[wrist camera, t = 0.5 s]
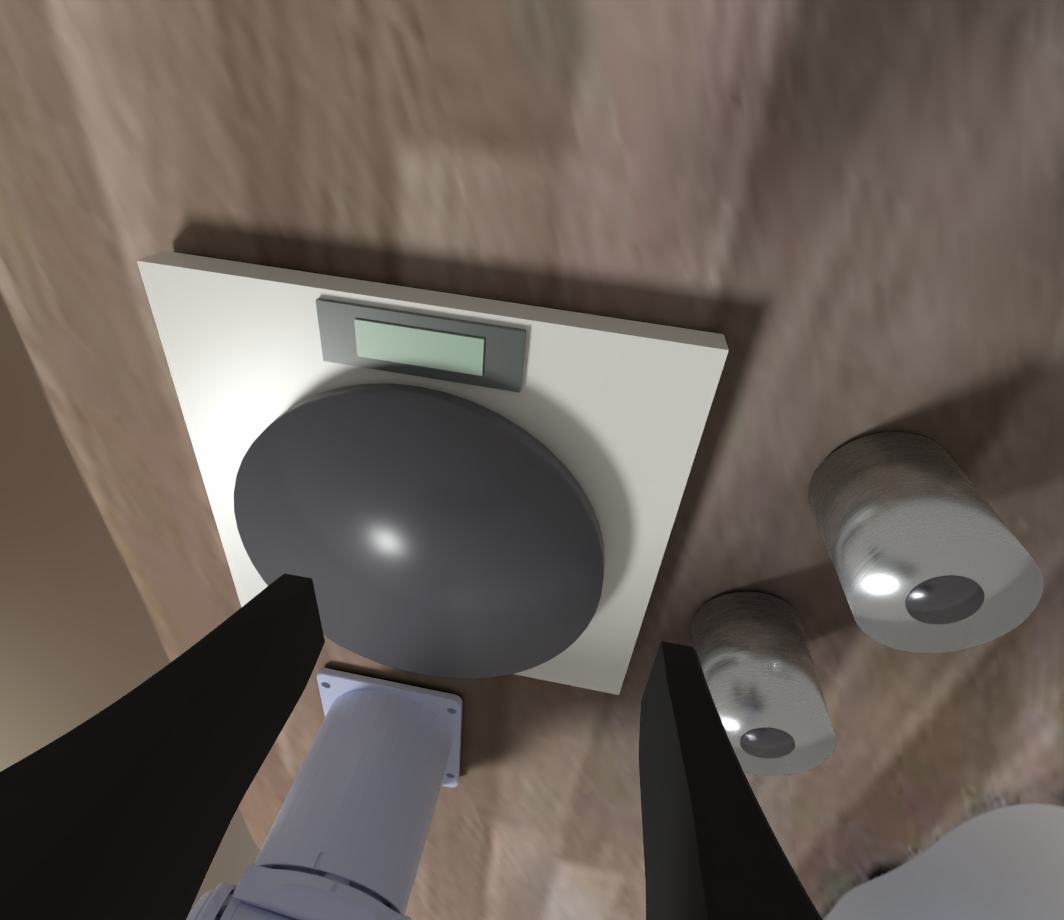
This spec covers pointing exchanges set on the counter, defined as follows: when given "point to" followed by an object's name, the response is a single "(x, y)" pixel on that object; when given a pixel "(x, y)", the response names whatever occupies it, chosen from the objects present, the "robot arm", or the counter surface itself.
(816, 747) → the cylinder
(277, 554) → the scale pan
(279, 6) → the counter surface
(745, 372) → the counter surface
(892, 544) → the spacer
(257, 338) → the scale base
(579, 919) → the counter surface
